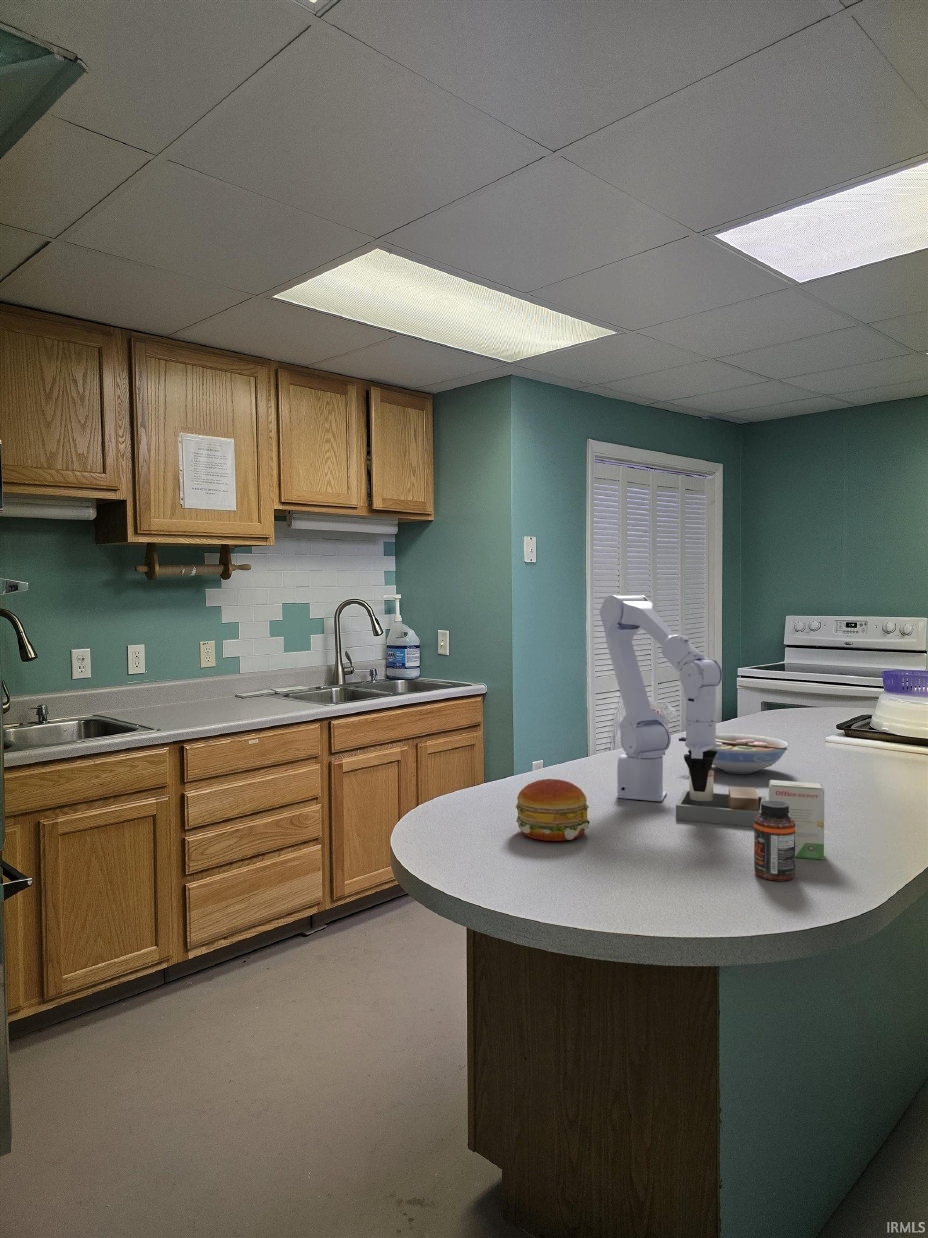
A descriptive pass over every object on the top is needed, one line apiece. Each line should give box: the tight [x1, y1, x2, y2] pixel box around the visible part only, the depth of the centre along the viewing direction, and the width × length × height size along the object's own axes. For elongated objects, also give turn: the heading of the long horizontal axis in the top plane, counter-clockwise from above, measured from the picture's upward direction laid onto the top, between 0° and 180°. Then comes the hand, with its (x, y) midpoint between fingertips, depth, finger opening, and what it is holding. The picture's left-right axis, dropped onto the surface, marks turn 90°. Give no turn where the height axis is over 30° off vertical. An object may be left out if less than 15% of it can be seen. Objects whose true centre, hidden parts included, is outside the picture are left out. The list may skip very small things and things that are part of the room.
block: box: [728, 786, 759, 811], centre depth 159 cm, size 5×9×5 cm, turn 164°
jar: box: [688, 769, 715, 801], centre depth 162 cm, size 5×5×6 cm
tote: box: [675, 789, 767, 828], centre depth 161 cm, size 16×13×3 cm
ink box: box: [768, 779, 825, 860], centre depth 137 cm, size 9×5×12 cm, turn 71°
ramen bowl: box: [678, 733, 789, 775], centre depth 201 cm, size 25×23×8 cm
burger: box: [515, 778, 591, 842], centre depth 149 cm, size 14×14×10 cm
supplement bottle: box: [753, 799, 796, 882], centre depth 126 cm, size 6×6×11 cm
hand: (700, 788), depth 162 cm, fingers closed on jar, 5 cm apart
